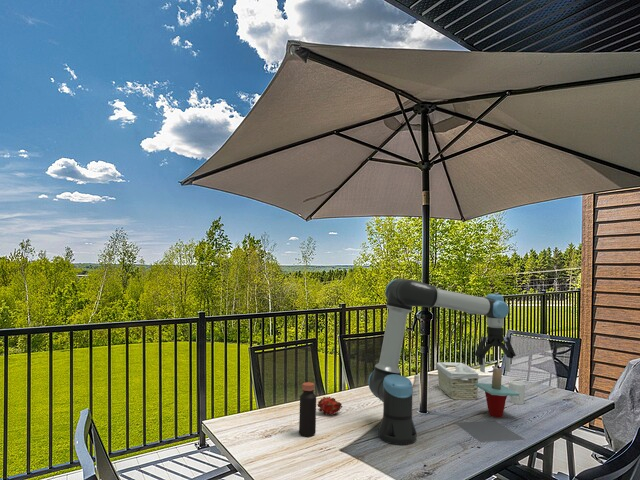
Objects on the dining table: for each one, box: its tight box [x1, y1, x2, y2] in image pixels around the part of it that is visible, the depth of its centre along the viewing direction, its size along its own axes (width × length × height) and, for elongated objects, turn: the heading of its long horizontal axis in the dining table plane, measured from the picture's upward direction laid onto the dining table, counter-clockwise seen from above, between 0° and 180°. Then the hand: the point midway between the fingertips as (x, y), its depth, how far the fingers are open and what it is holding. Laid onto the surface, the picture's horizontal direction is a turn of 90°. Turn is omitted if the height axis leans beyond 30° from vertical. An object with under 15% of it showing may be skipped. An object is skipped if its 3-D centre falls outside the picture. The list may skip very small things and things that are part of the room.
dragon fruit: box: [316, 396, 343, 416], centre depth 184 cm, size 8×8×12 cm
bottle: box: [298, 381, 317, 438], centre depth 162 cm, size 7×7×20 cm
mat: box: [454, 420, 525, 443], centre depth 168 cm, size 20×20×1 cm
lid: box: [474, 367, 519, 397], centre depth 187 cm, size 14×14×10 cm
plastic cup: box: [484, 391, 508, 419], centre depth 186 cm, size 11×11×12 cm
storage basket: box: [436, 361, 480, 400], centre depth 221 cm, size 24×16×15 cm
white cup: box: [508, 380, 526, 405], centre depth 207 cm, size 8×8×10 cm
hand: (495, 371), depth 188 cm, fingers open, 13 cm apart
